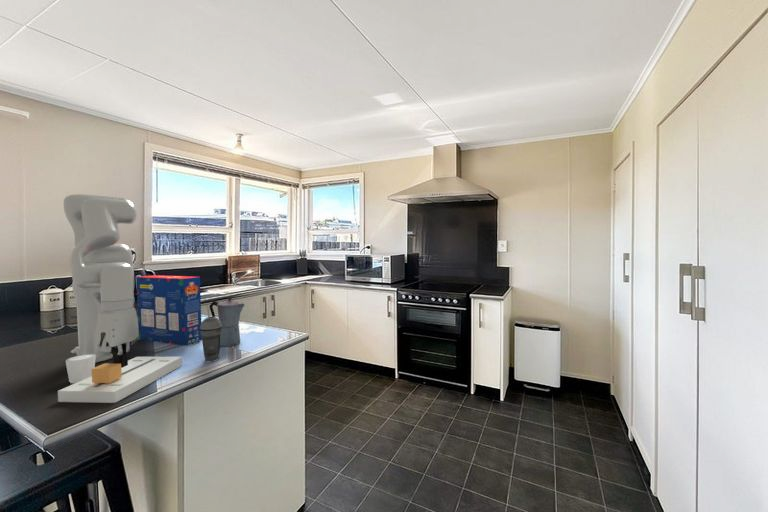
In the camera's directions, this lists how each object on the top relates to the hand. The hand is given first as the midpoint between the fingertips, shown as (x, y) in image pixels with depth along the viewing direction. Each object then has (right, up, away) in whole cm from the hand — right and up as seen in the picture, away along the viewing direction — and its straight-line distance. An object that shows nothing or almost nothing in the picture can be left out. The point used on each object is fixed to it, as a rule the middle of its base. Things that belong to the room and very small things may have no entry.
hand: (120, 366), depth 95 cm
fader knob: (0, -2, -4) cm, 5 cm away
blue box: (-16, -4, +45) cm, 48 cm away
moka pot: (+13, -4, +39) cm, 41 cm away
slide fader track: (0, -6, +3) cm, 6 cm away
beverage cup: (+16, -5, +21) cm, 27 cm away
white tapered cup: (-16, -6, +4) cm, 17 cm away
